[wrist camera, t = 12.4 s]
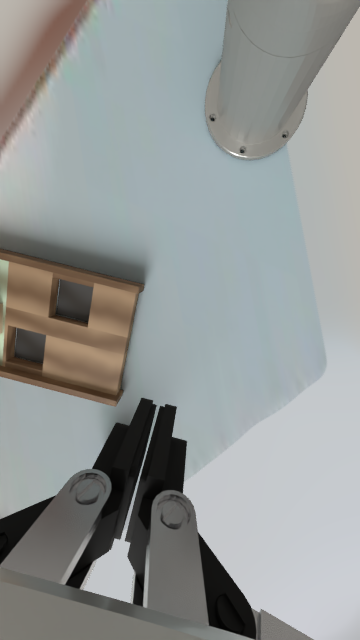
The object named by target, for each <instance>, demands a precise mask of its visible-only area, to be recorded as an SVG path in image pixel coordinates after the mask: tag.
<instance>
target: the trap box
mask: <svg viewBox="0 0 360 640" xmlns="http://www.w3.org/2000/svg"><path fill="white" fill-rule="evenodd" d="M59 279H61V280H60V288H59V297H58V306H57V314H59V315H63V316H67V317H71V318H75V319H79V320H83V321H87V322H88V323H86V322H82V321H78V320H74V319H70V318H66V317H62V316H58V315H55V313H56V304H57V295H58V286H59ZM143 289H144V284H140V283H136V282H132V281H128V280H124V279H120V278H116V277H112V276H108V275H104V274H100V273H96V272H92V271H88V270H84V269H80V268H76V267H72V266H68V265H64V264H60V263H56V262H52V261H48V260H44V259H40V258H36V257H32V256H28V255H24V254H20V253H16V252H12V251H8V250H4V249H0V303H3V333H1V334H0V377H4V378H8V379H12V380H16V381H19V382H23V383H27V384H31V385H35V386H39V387H42V388H46V389H50V390H54V391H58V392H62V393H65V394H69V395H73V396H77V397H81V398H84V399H88V400H92V401H96V402H100V403H104V404H107V405H111V406H115V407H116V405H117V403H118V402H119V400H120V398H121V397H122V394H123V390H120V386H121V381H122V376H123V371H124V366H125V361H126V356H127V351H128V346H129V341H130V336H131V331H132V325H133V320H134V315H135V310H136V305H137V300H138V295H139V293H140V292H142V291H143ZM16 327H17V338H16ZM15 338H16V351H15ZM14 351H15V356H17V357H20V358H17V357H14ZM21 358H24V359H28V360H32V361H36V362H40V363H43V364H40V363H36V362H32V361H28V360H24V359H21Z"/></svg>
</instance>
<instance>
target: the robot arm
mask: <svg viewBox="0 0 360 640" xmlns="http://www.w3.org/2000/svg"><path fill="white" fill-rule="evenodd" d="M359 7H360V0H228V3H227V13H226V22H225V32H224V42H223V52H222V60H221V61H220V63H219V64H218V66H217V67H216V68H215V70H214V72H213V74H212V76H211V78H210V81H209V84H208V88H207V91H206V99H205V116H206V123H207V126H208V130H209V132H210V134H211V136H212V138H213V140H214V141H215V142H216V144H217V145H218V146H219V147H220V148H221V149H222V150H223V151H224V152H225V153H227V154H229V155H231V156H232V157H235V158H238V159H242V160H256V159H261V158H264V157H267V156H270V155H271V154H273V153H275V152H277V151H278V150H279V149H280V148H282V147H283V146H284V145H285V144H286V143H287V142H288V141H289V139H290V138H291V137H292V136H293V134H294V133H295V131H296V130H297V128H298V127H299V125H300V123H301V121H302V119H303V115H304V112H305V109H306V103H307V96H308V92H307V89H308V88H309V86H310V85H311V83H312V82H313V80H314V78H315V77H316V75H317V74H318V72H319V70H320V68H321V67H322V66H323V64H324V62H325V61H326V59H327V58H328V56H329V54H330V53H331V51H332V50H333V48H334V46H335V45H336V43H337V42H338V40H339V39H340V37H341V35H342V34H343V32H344V30H345V29H346V27H347V26H348V24H349V22H350V21H351V19H352V18H353V16H354V15H355V13H356V11H357V10H358V8H359ZM212 119H213V120H214V121H211V120H212ZM282 136H285V138H283V137H282ZM240 151H243V152H244V153H243V154H242V153H240ZM156 406H157V405H155V404H153V400H149V399H145V398H141V401H140V403H139V405H138V408H137V410H136V412H135V414H134V417H133V419H132V421H131V424H130V426H128V425H125V424H121V423H116V424H115V425H114V427H113V429H112V431H111V433H110V435H109V437H108V439H107V441H106V443H105V445H104V447H103V448H102V450H101V452H100V454H99V456H98V458H97V460H96V462H95V464H94V466H93V468H92V469H86V470H82V471H80V472H78V473H76V474H74V475H73V476H72V477H71V478H70V479H69V480H68V481H67V483H66V484H65V485H64V486H63V488H62V489H61V490H60V491H59V493H58V494H57V495H56V496H53V497H51V498H49V499H46V500H44V501H42V502H39V503H37V504H35V505H32V506H30V507H28V508H25V509H23V510H21V511H18V512H16V513H14V514H11V515H9V516H7V517H4V518H2V519H0V640H313V639H312V638H310V637H308V636H307V635H305V634H303V633H302V632H300V631H298V630H296V629H294V628H293V627H291V626H290V625H288V624H286V623H284V622H283V621H281V620H279V619H278V618H276V617H274V616H272V615H271V614H269V613H267V612H266V611H264V610H262V609H261V611H260V612H257V611H255V610H254V609H252V608H251V606H250V605H249V603H248V601H247V599H246V598H245V596H244V595H243V593H242V592H241V590H240V589H239V588H238V586H237V585H236V584H235V583H234V581H233V579H232V578H231V577H230V576H229V574H228V573H227V571H226V570H225V569H224V567H223V566H222V565H221V563H220V562H219V561H218V559H217V558H216V556H215V555H214V553H213V552H212V551H211V549H210V548H209V547H208V545H207V544H206V542H205V541H204V540H203V538H202V537H201V536H200V534H199V533H198V530H197V522H196V514H195V510H194V506H193V505H192V503H191V501H190V500H189V499H188V498H187V497H186V496H185V495H184V494H183V484H184V471H185V459H186V446H187V441H185V440H181V439H178V438H174V437H172V432H173V426H174V420H175V414H176V408H177V407H176V406H172V405H168V404H165V407H163V406H160V409H159V412H158V416H157V419H156V423H155V426H154V430H153V434H152V437H151V441H150V444H149V448H148V451H147V455H146V459H145V462H144V466H143V469H142V473H141V477H140V481H139V485H138V489H137V493H136V497H135V501H134V505H133V510H132V514H131V518H130V522H129V526H128V530H127V534H126V538H125V541H127V542H130V543H131V544H130V548H129V552H128V559H129V561H130V563H131V565H132V567H133V569H134V575H133V582H132V593H131V603H127V602H124V601H120V600H117V599H113V598H109V597H106V596H102V595H99V594H95V593H92V592H88V591H84V590H83V589H84V587H85V585H86V583H87V580H88V578H89V576H90V574H91V572H92V570H93V568H94V566H95V563H96V560H97V559H98V558H99V557H101V556H102V555H104V554H105V553H107V552H108V551H109V549H110V550H111V548H112V544H113V541H114V538H116V539H120V538H121V535H122V531H123V528H124V525H125V521H126V518H127V514H128V511H129V507H130V504H131V500H132V497H133V493H134V490H135V486H136V483H137V480H138V476H139V473H140V469H141V466H142V462H143V459H144V455H145V451H146V447H147V443H148V439H149V435H150V431H151V426H152V422H153V418H154V414H155V410H156Z"/></svg>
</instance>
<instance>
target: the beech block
mask: <svg viewBox="0 0 360 640" xmlns="http://www.w3.org/2000/svg"><path fill="white" fill-rule="evenodd" d="M1 333H3V303H0V334H1Z"/></svg>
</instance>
